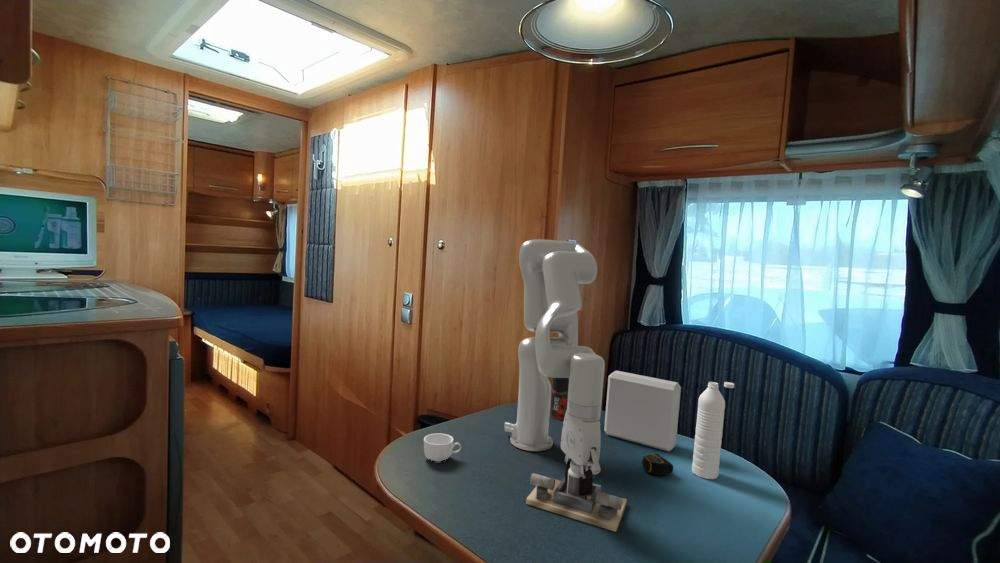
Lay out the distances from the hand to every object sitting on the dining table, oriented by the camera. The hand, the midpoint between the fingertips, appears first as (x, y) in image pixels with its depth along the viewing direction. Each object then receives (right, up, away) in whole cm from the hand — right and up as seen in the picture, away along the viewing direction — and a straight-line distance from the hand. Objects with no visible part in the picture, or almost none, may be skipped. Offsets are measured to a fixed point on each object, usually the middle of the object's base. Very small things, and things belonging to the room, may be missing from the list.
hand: (577, 486), depth 104 cm
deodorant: (+3, -1, +56) cm, 56 cm away
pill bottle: (0, -3, 0) cm, 3 cm away
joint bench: (0, -4, 0) cm, 4 cm away
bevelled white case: (+26, -3, +39) cm, 47 cm away
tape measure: (+24, -5, +19) cm, 31 cm away
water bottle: (+38, -6, +19) cm, 43 cm away
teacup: (-33, -1, +18) cm, 38 cm away
